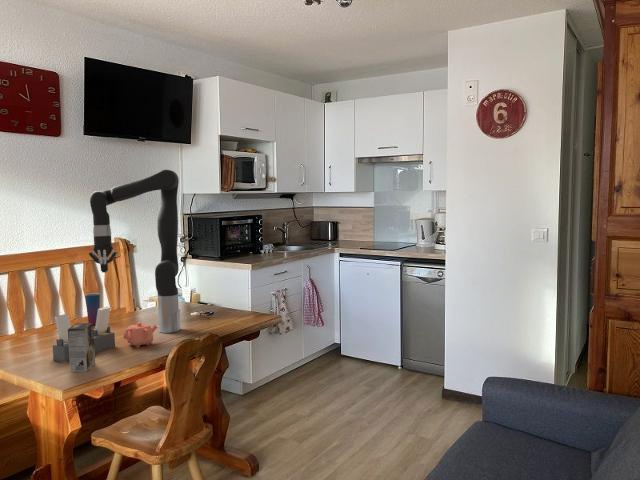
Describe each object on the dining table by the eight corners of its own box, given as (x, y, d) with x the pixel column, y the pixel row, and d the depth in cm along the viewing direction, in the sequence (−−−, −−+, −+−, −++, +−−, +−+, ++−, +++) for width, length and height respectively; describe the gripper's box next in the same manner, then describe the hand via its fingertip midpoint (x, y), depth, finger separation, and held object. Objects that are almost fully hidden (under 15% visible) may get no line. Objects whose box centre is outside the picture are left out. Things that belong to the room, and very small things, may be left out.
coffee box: (78, 364, 205) (76, 322, 204) (95, 363, 205) (93, 322, 204) (69, 372, 196) (66, 328, 194) (87, 371, 196) (85, 328, 195)
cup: (104, 322, 273) (102, 293, 271) (94, 326, 266) (92, 296, 265) (93, 322, 275) (91, 293, 274) (83, 325, 269) (81, 295, 267)
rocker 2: (94, 333, 225) (97, 308, 223) (104, 330, 229) (107, 306, 227) (96, 335, 224) (100, 310, 222) (106, 332, 229) (110, 307, 226)
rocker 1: (60, 344, 211) (54, 316, 211) (71, 341, 215) (65, 314, 216) (63, 343, 210) (56, 315, 211) (74, 340, 214) (68, 313, 215)
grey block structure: (53, 359, 211) (52, 338, 211) (103, 344, 233) (102, 325, 232) (65, 362, 208) (63, 340, 207) (115, 346, 229) (114, 326, 228)
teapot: (158, 341, 237) (157, 319, 236) (148, 348, 225) (147, 325, 224) (132, 341, 237) (131, 319, 236) (121, 348, 225) (120, 325, 225)
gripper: (84, 235, 243) (86, 273, 245) (114, 235, 244) (116, 273, 245) (90, 234, 251) (93, 271, 252) (119, 233, 251) (121, 270, 253)
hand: (104, 272), depth 249 cm, fingers closed
